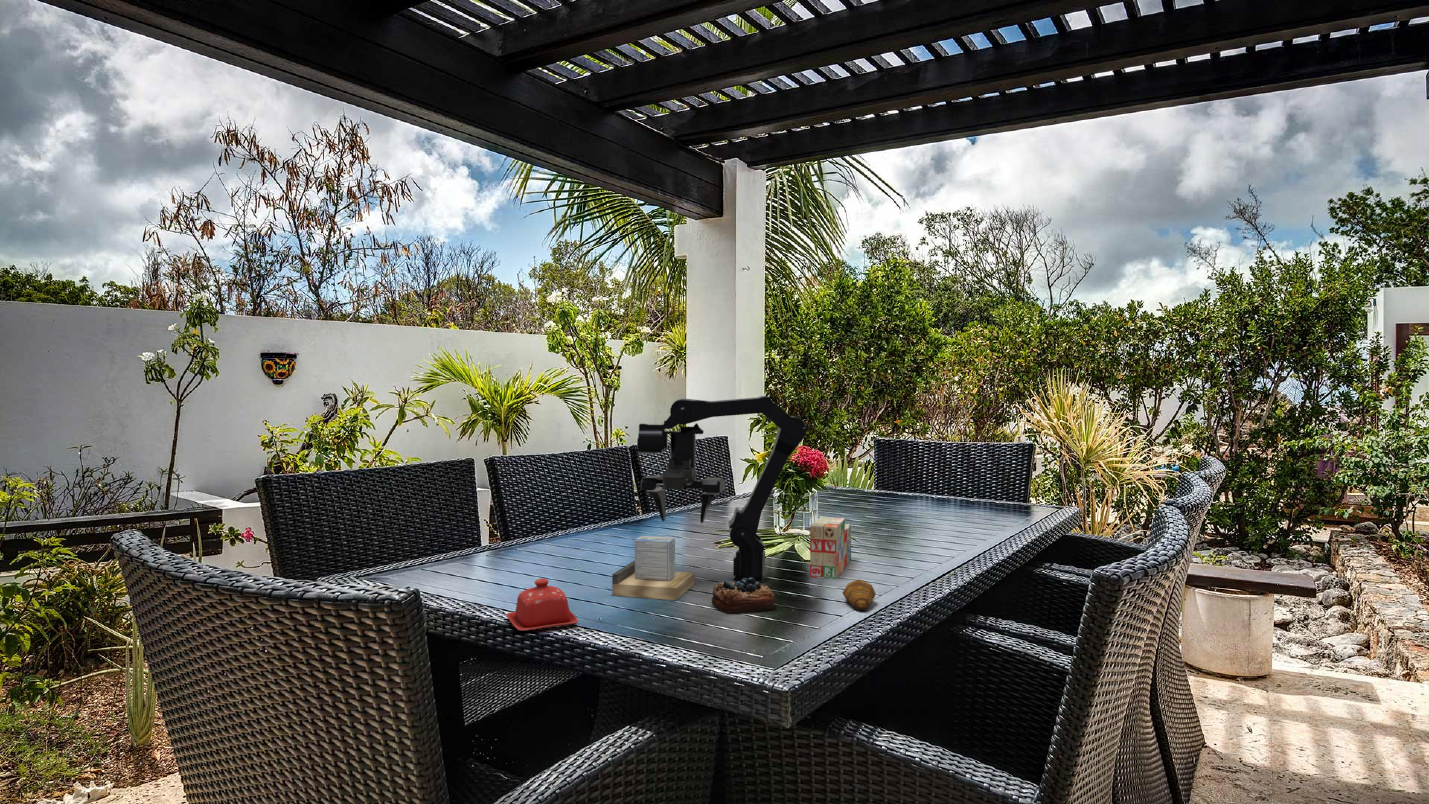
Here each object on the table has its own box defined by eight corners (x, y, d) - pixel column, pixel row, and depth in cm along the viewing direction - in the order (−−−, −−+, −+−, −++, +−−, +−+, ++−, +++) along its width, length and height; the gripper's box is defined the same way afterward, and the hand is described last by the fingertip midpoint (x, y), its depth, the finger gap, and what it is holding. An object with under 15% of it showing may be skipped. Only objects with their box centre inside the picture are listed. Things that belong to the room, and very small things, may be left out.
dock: (694, 583, 179) (694, 563, 179) (675, 600, 166) (676, 578, 165) (635, 579, 183) (635, 560, 183) (612, 595, 169) (612, 574, 169)
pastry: (705, 602, 165) (705, 574, 165) (758, 597, 169) (758, 569, 169) (725, 617, 155) (725, 587, 155) (781, 611, 159) (782, 581, 159)
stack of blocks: (827, 558, 206) (827, 510, 206) (851, 560, 204) (851, 512, 204) (809, 577, 186) (809, 524, 186) (836, 579, 184) (836, 526, 184)
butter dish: (517, 637, 142) (517, 589, 142) (504, 619, 153) (504, 575, 152) (580, 628, 147) (580, 582, 147) (564, 612, 157) (564, 569, 157)
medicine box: (675, 576, 175) (675, 537, 175) (669, 581, 171) (669, 541, 171) (641, 574, 177) (641, 535, 177) (634, 579, 173) (634, 539, 173)
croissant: (880, 613, 157) (880, 588, 157) (845, 612, 158) (845, 587, 158) (871, 595, 171) (872, 572, 171) (839, 594, 171) (839, 571, 171)
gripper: (632, 455, 178) (631, 525, 178) (713, 458, 173) (713, 530, 174) (648, 451, 189) (648, 517, 189) (725, 453, 184) (725, 521, 184)
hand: (682, 521), depth 184 cm, fingers open, 9 cm apart
